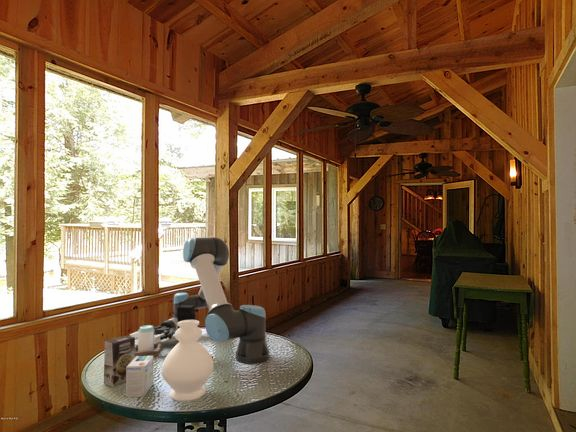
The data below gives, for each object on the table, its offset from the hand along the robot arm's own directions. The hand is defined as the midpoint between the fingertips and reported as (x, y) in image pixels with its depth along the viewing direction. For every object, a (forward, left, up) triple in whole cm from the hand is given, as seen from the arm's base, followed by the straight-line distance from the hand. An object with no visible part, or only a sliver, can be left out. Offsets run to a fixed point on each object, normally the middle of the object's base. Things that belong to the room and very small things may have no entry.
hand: (142, 338), depth 172 cm
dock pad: (+16, -10, -7) cm, 20 cm away
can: (+2, -1, -7) cm, 8 cm away
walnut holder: (+2, -1, -7) cm, 7 cm away
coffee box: (-30, +4, -7) cm, 31 cm away
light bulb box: (-40, -5, -7) cm, 41 cm away
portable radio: (-6, -20, -7) cm, 22 cm away
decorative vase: (-46, -22, -7) cm, 52 cm away
